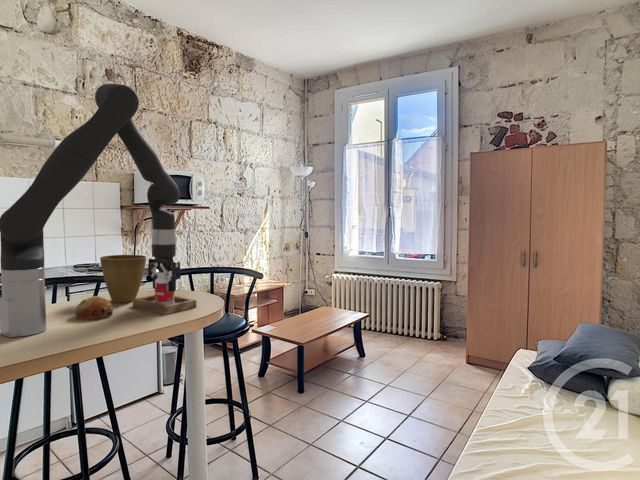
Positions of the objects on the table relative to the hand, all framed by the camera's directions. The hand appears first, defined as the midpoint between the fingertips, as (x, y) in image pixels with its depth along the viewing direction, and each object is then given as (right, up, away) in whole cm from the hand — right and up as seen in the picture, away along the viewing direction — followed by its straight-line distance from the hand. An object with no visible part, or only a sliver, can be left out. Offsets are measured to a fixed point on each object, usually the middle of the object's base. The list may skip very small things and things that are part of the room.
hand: (164, 290), depth 136 cm
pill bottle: (0, -5, 0) cm, 5 cm away
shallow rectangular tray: (0, -6, 0) cm, 6 cm away
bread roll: (-16, -7, -13) cm, 21 cm away
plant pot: (-17, -5, +8) cm, 20 cm away
